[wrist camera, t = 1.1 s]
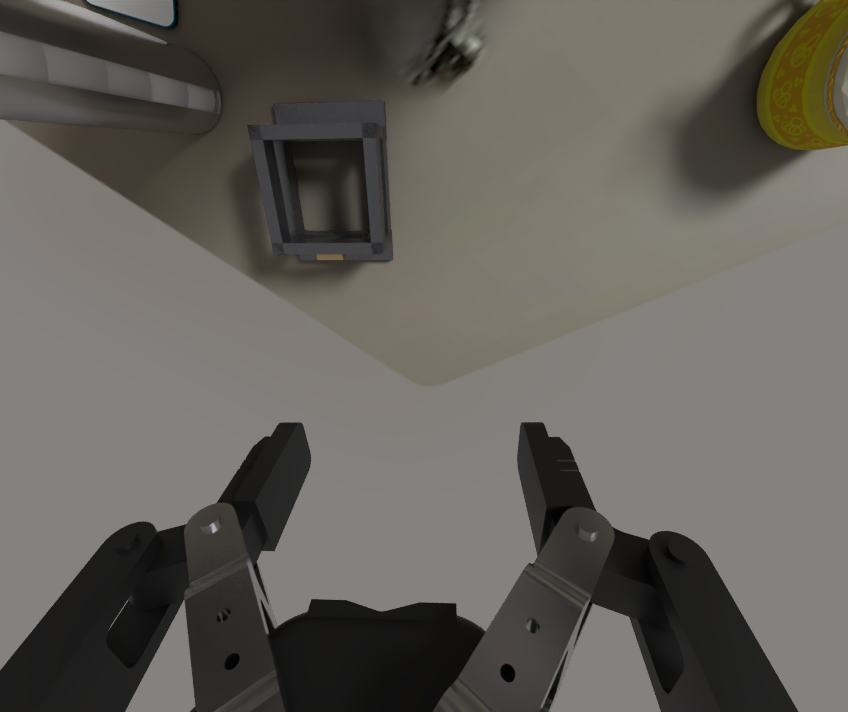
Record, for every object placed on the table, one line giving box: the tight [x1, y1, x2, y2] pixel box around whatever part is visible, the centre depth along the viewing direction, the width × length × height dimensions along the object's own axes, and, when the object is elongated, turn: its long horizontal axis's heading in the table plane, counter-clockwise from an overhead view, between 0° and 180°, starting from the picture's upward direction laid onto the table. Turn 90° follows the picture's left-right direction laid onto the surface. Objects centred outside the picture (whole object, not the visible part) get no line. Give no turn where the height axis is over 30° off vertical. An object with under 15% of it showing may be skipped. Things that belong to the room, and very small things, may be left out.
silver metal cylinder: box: [0, 0, 222, 135], centre depth 23 cm, size 6×6×25 cm
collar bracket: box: [247, 101, 393, 260], centre depth 34 cm, size 14×10×6 cm
